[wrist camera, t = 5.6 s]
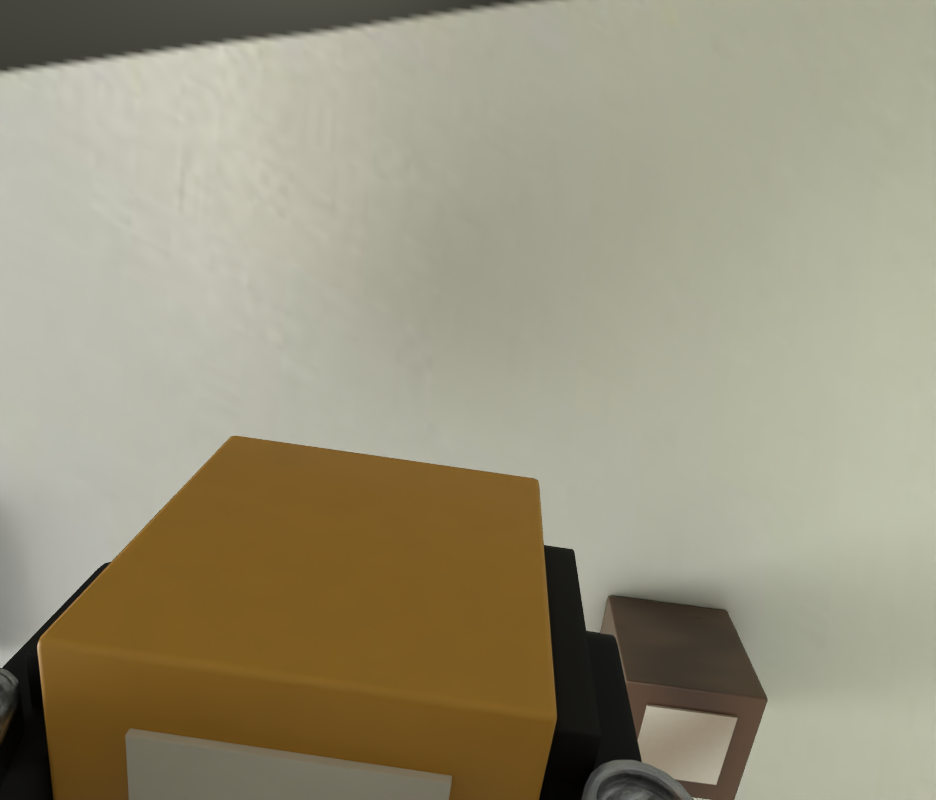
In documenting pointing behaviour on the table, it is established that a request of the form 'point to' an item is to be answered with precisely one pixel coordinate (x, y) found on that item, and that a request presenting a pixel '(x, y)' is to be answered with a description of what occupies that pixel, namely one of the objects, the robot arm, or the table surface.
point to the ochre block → (311, 639)
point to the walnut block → (688, 691)
